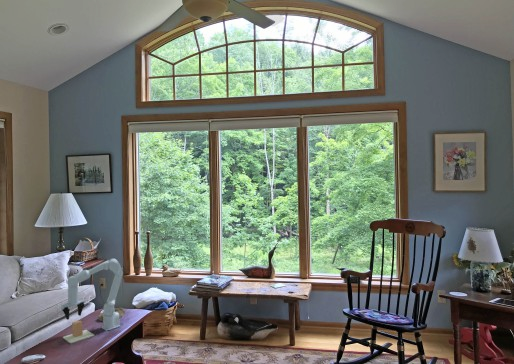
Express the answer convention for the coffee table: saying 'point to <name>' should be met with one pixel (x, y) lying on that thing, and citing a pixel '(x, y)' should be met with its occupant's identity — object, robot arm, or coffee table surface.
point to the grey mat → (74, 339)
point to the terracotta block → (77, 328)
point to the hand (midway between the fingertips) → (73, 317)
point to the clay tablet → (119, 310)
